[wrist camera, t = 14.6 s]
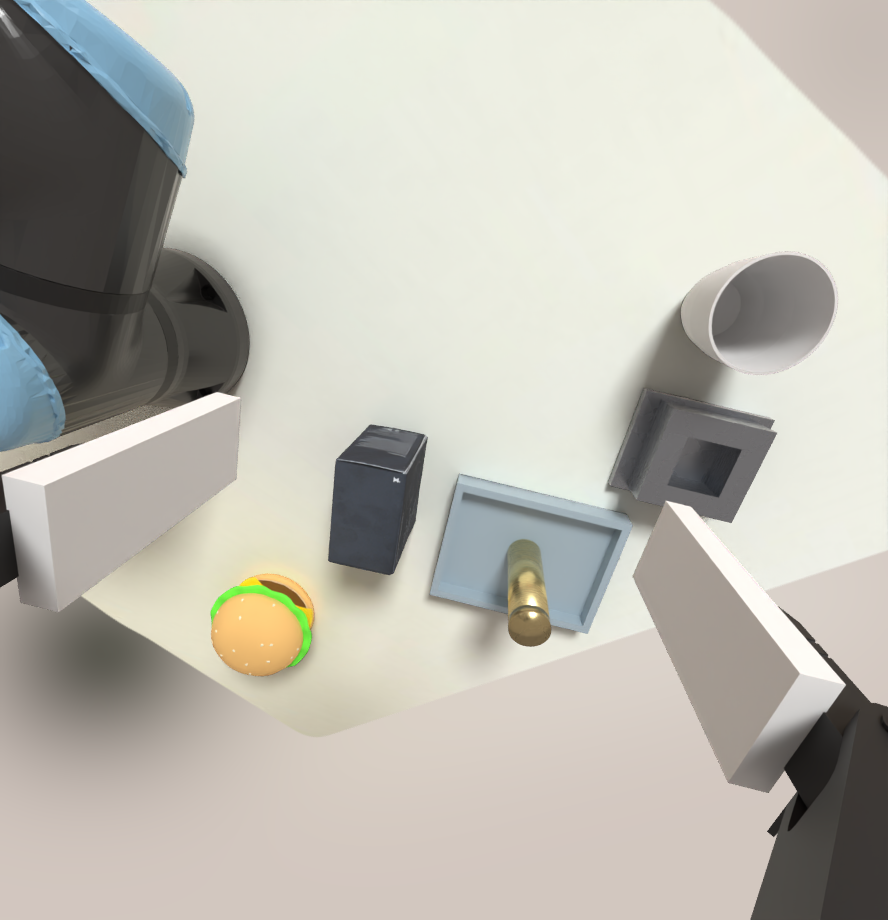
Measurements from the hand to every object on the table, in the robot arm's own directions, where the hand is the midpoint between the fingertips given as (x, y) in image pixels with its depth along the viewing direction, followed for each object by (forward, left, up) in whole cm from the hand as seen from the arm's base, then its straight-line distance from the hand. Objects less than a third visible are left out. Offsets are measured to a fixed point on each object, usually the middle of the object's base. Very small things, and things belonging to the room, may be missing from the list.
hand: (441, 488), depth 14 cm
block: (+22, -5, -33) cm, 40 cm away
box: (-6, -15, -33) cm, 37 cm away
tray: (+10, -20, -33) cm, 40 cm away
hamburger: (-17, -36, -33) cm, 52 cm away
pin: (+10, -20, -32) cm, 39 cm away
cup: (+19, +8, -33) cm, 39 cm away
